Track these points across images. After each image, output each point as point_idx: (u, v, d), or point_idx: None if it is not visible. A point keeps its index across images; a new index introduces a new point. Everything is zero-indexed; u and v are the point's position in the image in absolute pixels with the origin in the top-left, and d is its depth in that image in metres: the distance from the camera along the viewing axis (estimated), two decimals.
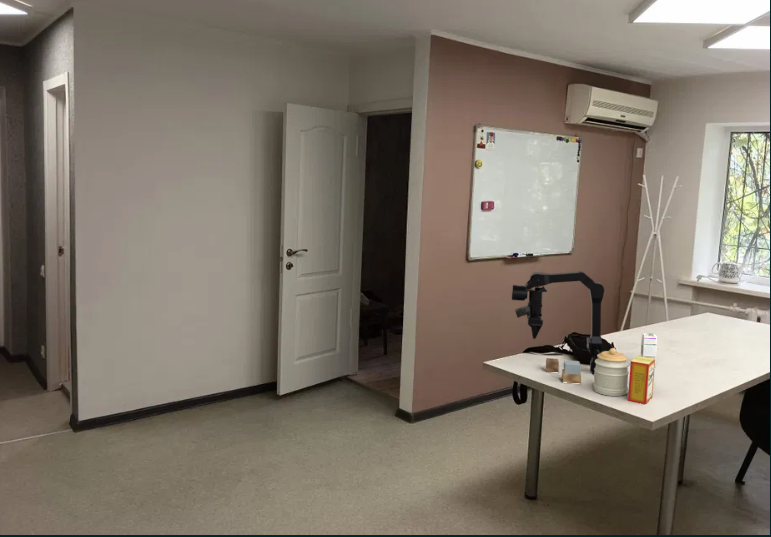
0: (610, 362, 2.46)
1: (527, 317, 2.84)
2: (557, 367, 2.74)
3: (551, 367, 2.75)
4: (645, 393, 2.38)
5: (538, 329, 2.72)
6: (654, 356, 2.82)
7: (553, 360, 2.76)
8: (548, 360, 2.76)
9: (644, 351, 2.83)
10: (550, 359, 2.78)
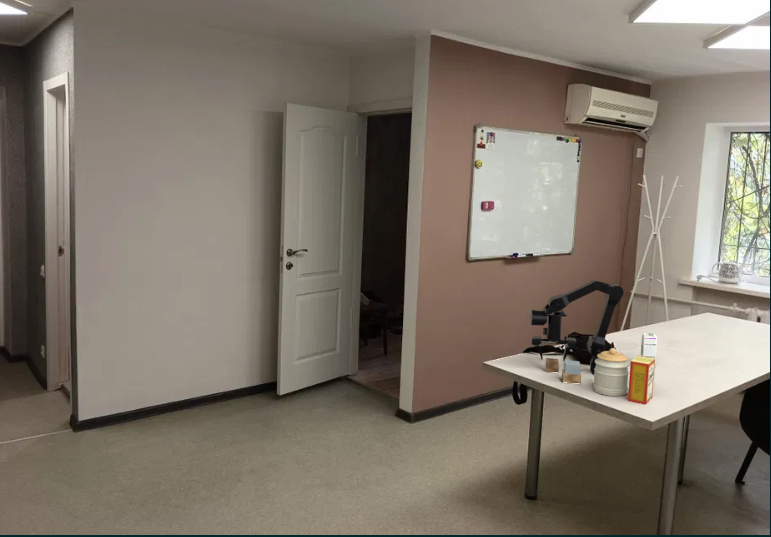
0: (610, 362, 2.46)
1: (566, 344, 2.78)
2: (557, 367, 2.74)
3: (551, 367, 2.75)
4: (645, 393, 2.38)
5: None
6: (654, 356, 2.82)
7: (553, 360, 2.76)
8: (548, 360, 2.76)
9: (644, 351, 2.83)
10: (550, 359, 2.78)
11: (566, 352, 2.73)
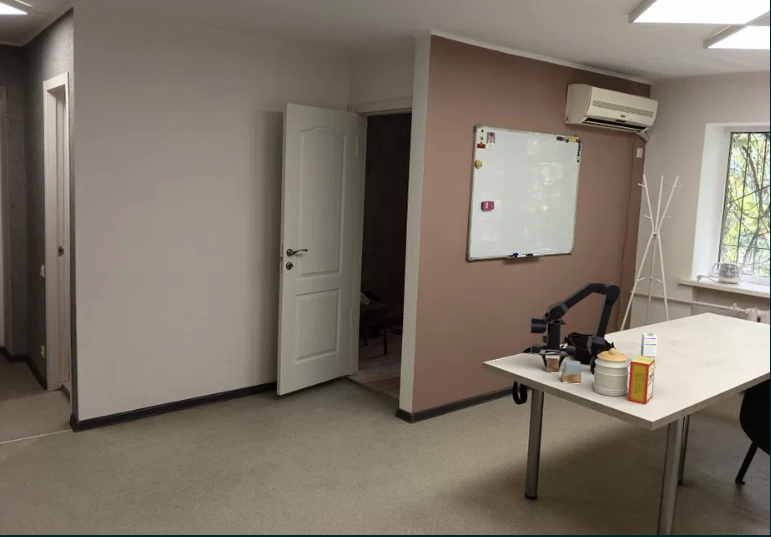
0: (610, 362, 2.46)
1: (560, 351, 2.79)
2: (557, 367, 2.74)
3: (551, 367, 2.75)
4: (645, 393, 2.38)
5: (542, 358, 2.76)
6: (654, 356, 2.82)
7: (553, 360, 2.76)
8: (548, 360, 2.76)
9: (644, 351, 2.83)
10: (550, 359, 2.77)
11: (561, 360, 2.74)
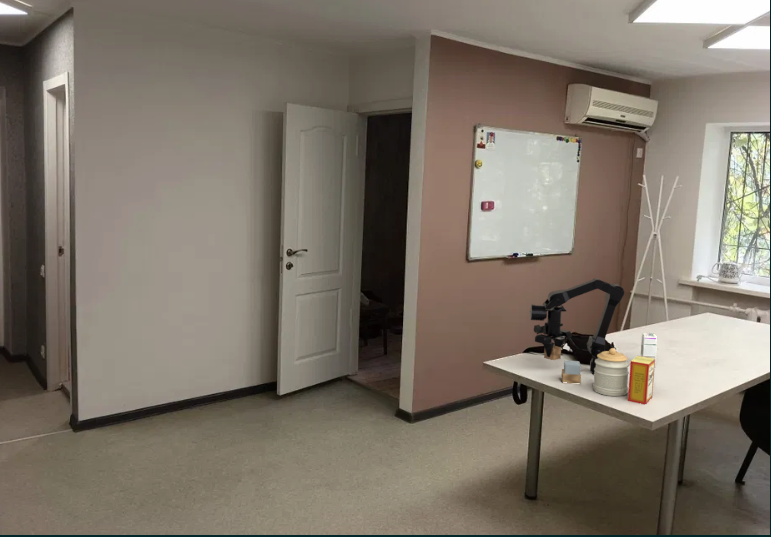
0: (610, 362, 2.46)
1: None
2: (560, 353, 2.76)
3: (556, 354, 2.74)
4: (645, 393, 2.38)
5: (549, 348, 2.72)
6: (654, 356, 2.82)
7: (554, 347, 2.76)
8: None
9: (644, 351, 2.83)
10: None
11: (561, 345, 2.76)
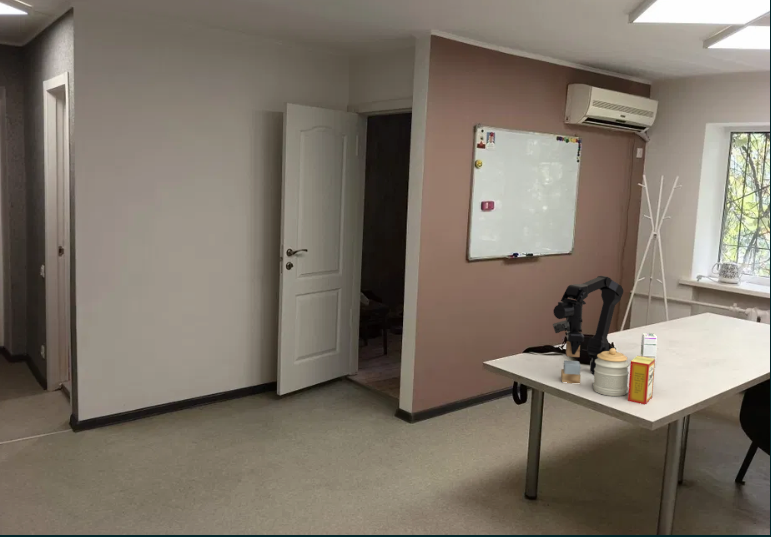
0: (610, 362, 2.46)
1: (565, 333, 2.66)
2: None
3: None
4: (645, 393, 2.38)
5: (578, 344, 2.58)
6: (654, 356, 2.82)
7: None
8: None
9: (644, 351, 2.83)
10: None
11: None
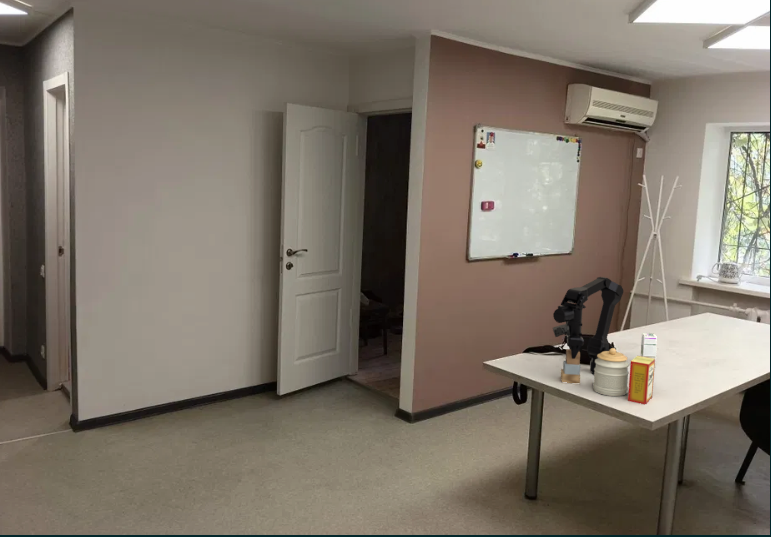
0: (610, 362, 2.46)
1: (565, 337, 2.67)
2: None
3: None
4: (645, 393, 2.38)
5: (578, 349, 2.58)
6: (654, 356, 2.82)
7: None
8: None
9: (644, 351, 2.83)
10: None
11: None
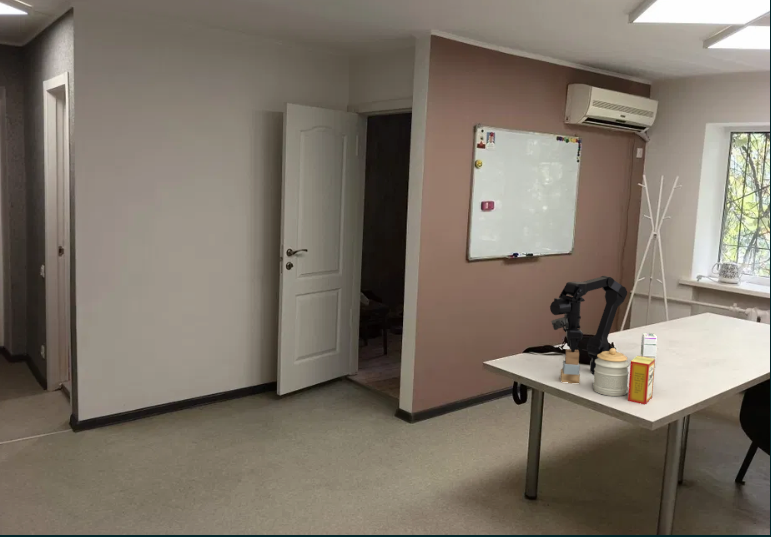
0: (610, 362, 2.46)
1: (563, 329, 2.71)
2: None
3: None
4: (645, 393, 2.38)
5: (577, 342, 2.59)
6: (654, 356, 2.82)
7: None
8: (575, 352, 2.61)
9: (644, 351, 2.83)
10: None
11: None
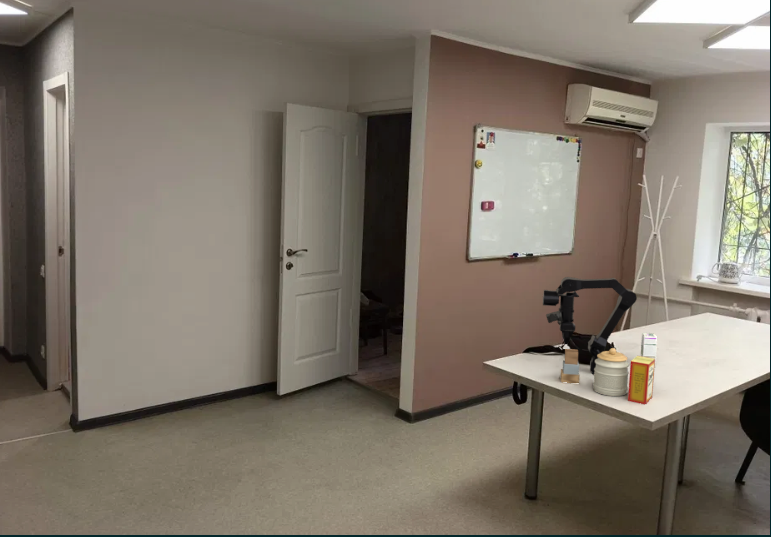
0: (610, 362, 2.46)
1: None
2: None
3: None
4: (645, 393, 2.38)
5: (570, 335, 2.70)
6: (654, 356, 2.82)
7: (572, 350, 2.63)
8: (574, 352, 2.61)
9: (644, 351, 2.83)
10: (570, 351, 2.62)
11: None
